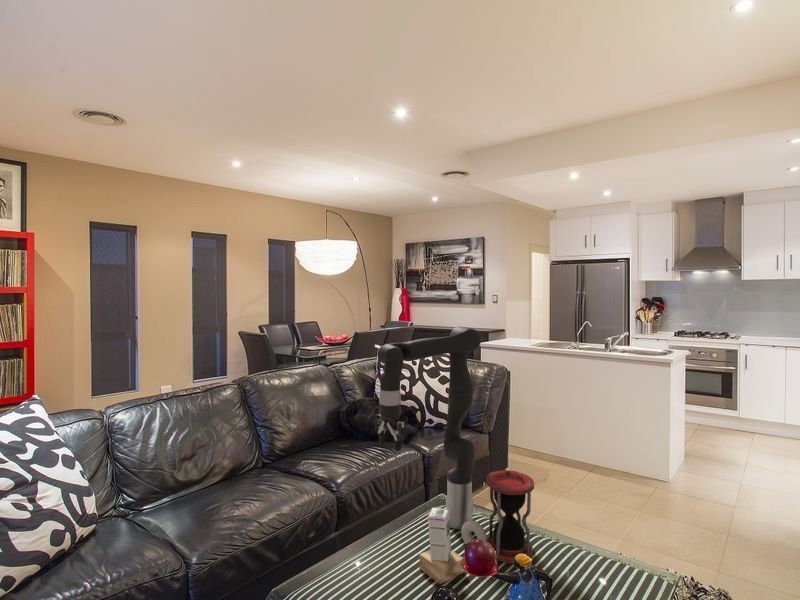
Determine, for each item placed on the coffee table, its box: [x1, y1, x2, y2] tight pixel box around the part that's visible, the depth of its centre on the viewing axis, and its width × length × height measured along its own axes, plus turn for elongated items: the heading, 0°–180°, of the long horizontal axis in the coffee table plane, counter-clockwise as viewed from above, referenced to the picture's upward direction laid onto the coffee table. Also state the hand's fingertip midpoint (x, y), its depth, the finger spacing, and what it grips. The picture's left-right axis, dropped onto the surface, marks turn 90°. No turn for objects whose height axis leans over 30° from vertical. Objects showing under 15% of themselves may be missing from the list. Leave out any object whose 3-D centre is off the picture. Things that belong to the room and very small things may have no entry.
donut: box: [460, 520, 488, 545], centre depth 166 cm, size 10×4×10 cm, turn 47°
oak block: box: [418, 549, 464, 585], centre depth 154 cm, size 10×10×5 cm
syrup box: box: [427, 507, 452, 562], centre depth 153 cm, size 6×6×14 cm
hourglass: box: [485, 470, 535, 564], centre depth 165 cm, size 16×16×25 cm
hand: (389, 447), depth 169 cm, fingers open, 8 cm apart
